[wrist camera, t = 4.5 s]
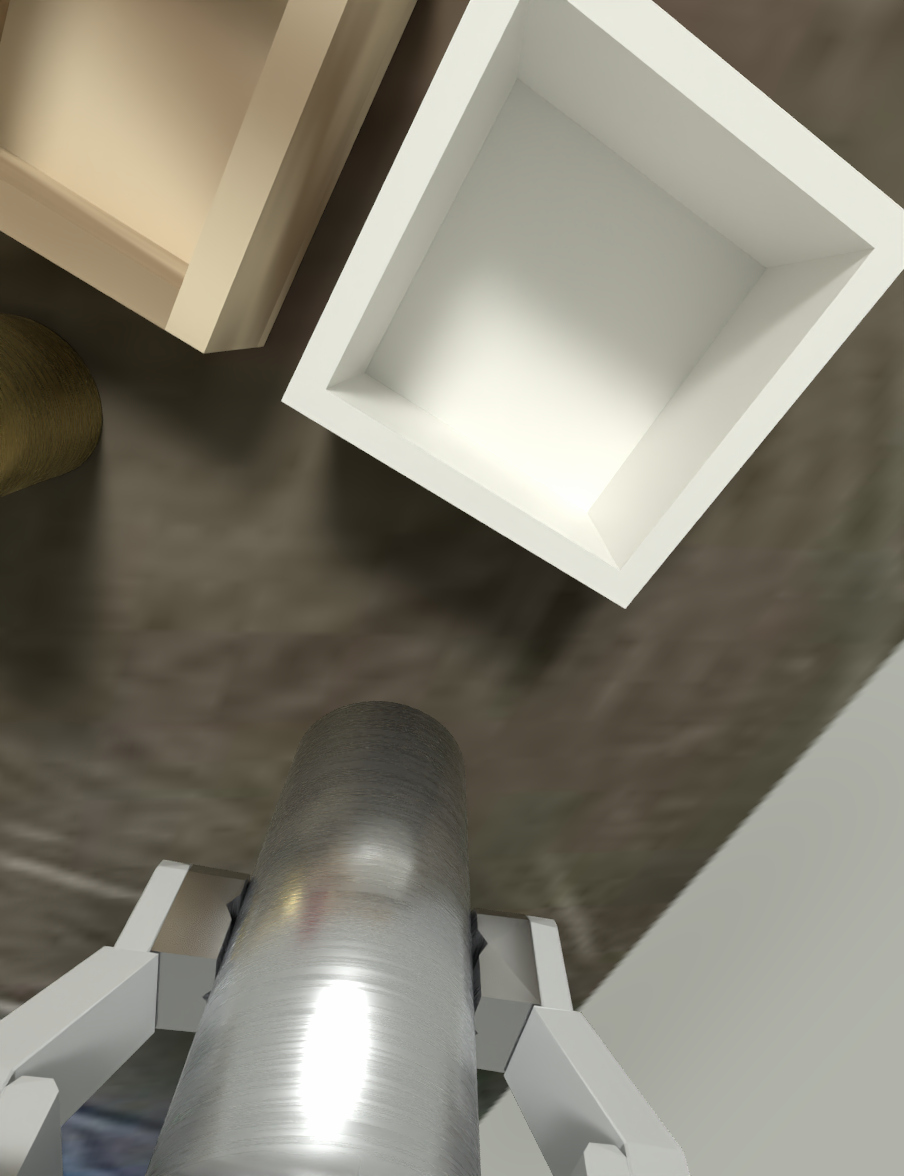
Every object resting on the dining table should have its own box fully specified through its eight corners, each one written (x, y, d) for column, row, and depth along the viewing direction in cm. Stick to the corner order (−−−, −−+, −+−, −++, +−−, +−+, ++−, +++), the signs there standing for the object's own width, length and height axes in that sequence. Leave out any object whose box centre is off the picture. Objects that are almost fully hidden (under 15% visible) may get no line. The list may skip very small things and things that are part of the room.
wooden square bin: (263, 346, 15) (203, 354, 12) (-49, 153, 14) (-212, 102, 10) (445, -64, 12) (432, -209, 9) (64, -367, 10) (-122, -673, 7)
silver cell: (344, 856, 15) (234, 1421, 7) (262, 738, 14) (15, 1282, 6) (490, 806, 15) (541, 1363, 7) (421, 676, 13) (381, 1192, 5)
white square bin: (588, 536, 16) (625, 608, 12) (335, 378, 15) (281, 401, 11) (796, 259, 14) (932, 233, 10) (507, 36, 12) (521, -108, 8)
